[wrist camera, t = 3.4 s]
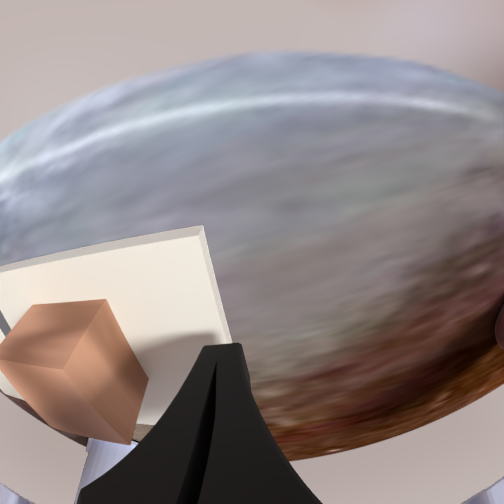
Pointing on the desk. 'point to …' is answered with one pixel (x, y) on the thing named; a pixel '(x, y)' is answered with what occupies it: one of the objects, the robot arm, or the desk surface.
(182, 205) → the desk surface
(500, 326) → the beverage can
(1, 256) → the desk surface
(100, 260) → the board
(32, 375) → the block
